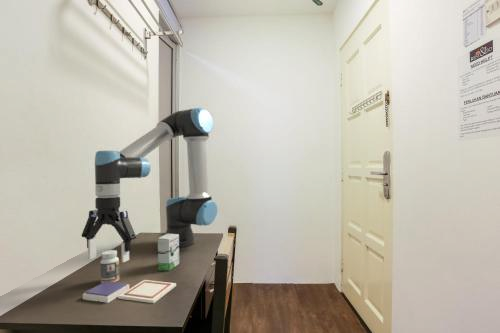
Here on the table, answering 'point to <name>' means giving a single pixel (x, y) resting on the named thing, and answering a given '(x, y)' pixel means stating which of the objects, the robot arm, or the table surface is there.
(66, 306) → the table surface
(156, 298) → the print card
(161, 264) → the ink box
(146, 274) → the table surface
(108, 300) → the ink pad
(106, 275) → the pill bottle
